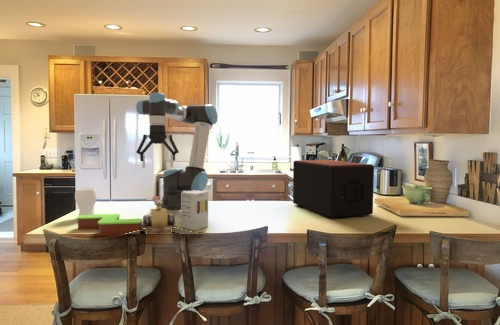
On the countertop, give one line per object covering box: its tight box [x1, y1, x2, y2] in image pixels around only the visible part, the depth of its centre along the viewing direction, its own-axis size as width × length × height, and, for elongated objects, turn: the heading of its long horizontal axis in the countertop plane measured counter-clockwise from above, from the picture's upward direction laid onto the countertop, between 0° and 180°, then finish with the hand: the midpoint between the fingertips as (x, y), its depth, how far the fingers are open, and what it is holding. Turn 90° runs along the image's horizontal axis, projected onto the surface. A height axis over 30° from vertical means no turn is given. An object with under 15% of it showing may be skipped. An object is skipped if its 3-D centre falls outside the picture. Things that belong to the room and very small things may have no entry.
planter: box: [76, 213, 143, 237], centre depth 165 cm, size 30×18×6 cm, turn 98°
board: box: [142, 220, 177, 235], centre depth 170 cm, size 14×20×2 cm
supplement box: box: [180, 190, 209, 231], centre depth 171 cm, size 10×9×17 cm
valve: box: [142, 205, 176, 227], centre depth 169 cm, size 14×6×10 cm, turn 110°
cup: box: [74, 187, 98, 216], centre depth 190 cm, size 11×11×15 cm
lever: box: [152, 196, 163, 206], centre depth 174 cm, size 14×4×2 cm, turn 21°
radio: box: [292, 159, 375, 220], centre depth 212 cm, size 45×27×28 cm, turn 20°
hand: (158, 167), depth 180 cm, fingers open, 13 cm apart
